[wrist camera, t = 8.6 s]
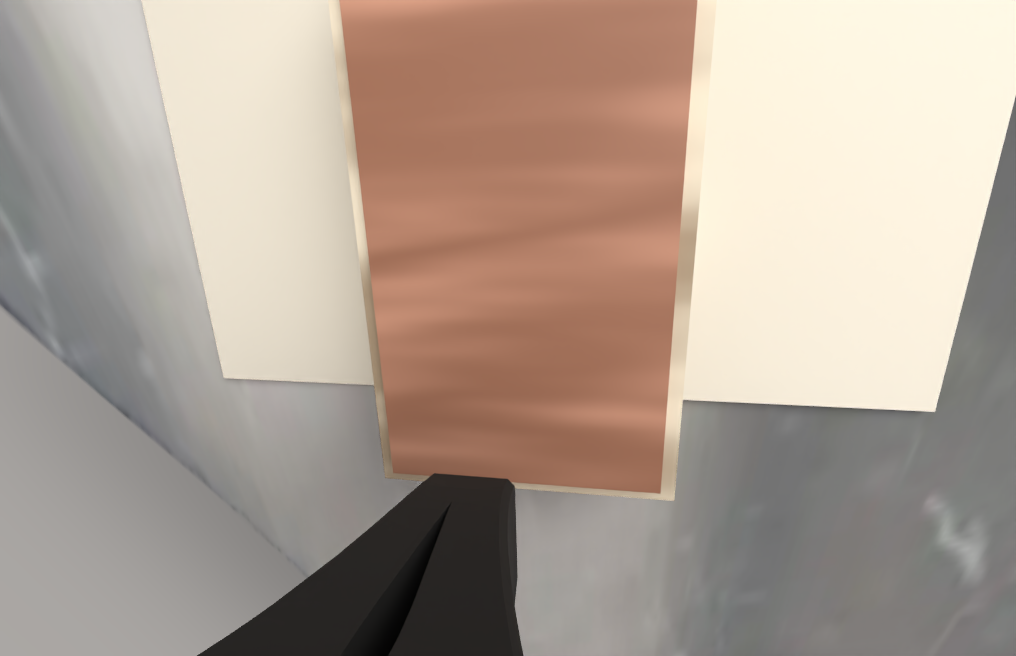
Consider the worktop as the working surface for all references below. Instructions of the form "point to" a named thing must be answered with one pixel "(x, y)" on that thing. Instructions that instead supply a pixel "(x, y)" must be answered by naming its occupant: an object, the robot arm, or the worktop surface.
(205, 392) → the worktop surface
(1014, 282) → the worktop surface
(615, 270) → the marked block
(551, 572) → the worktop surface
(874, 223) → the mat
